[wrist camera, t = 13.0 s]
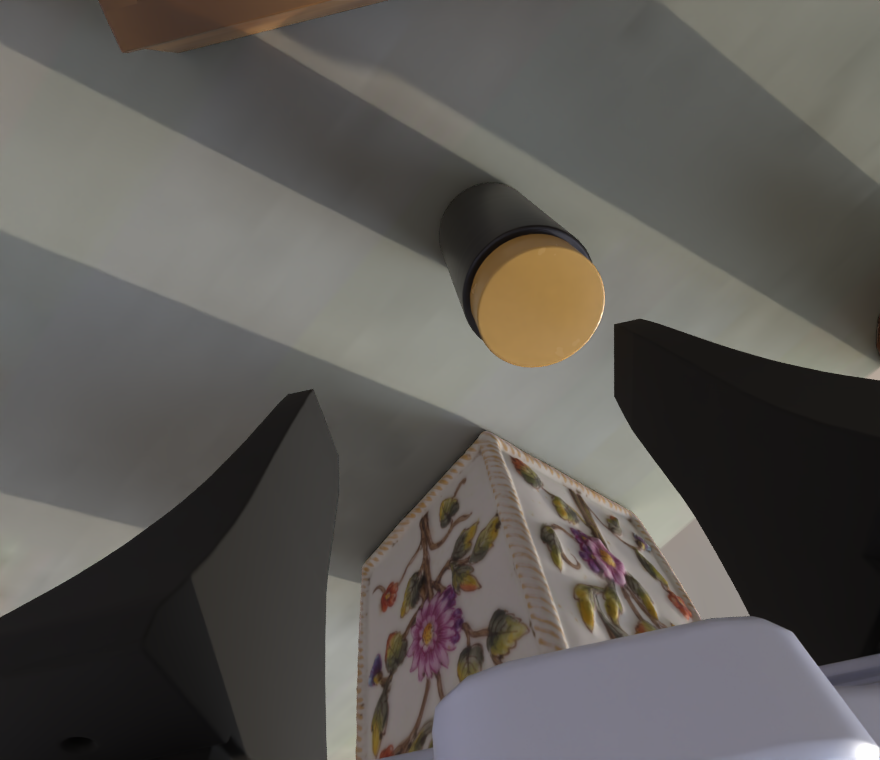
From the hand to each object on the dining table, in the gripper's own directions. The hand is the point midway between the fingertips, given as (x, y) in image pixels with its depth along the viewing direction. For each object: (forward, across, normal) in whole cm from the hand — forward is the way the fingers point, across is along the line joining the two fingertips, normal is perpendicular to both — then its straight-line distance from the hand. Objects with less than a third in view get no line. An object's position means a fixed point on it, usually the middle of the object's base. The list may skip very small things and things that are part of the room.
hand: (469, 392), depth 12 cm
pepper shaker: (+9, -2, -1) cm, 10 cm away
